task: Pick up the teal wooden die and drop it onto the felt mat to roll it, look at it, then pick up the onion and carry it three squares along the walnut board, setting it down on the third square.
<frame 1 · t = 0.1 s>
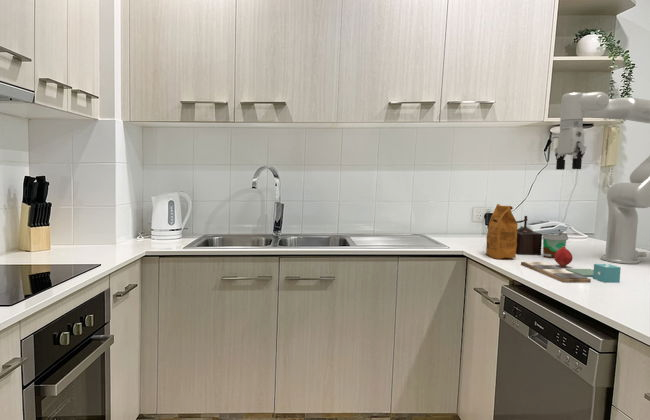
hand: (568, 169, 154), 37 cm above the worktop, tool pointing down, fingers open, 9 cm apart
board: (552, 272, 137), on the worktop
food container: (557, 258, 163), on the worktop
coffee package: (499, 257, 163), on the worktop
die: (606, 280, 127), on the worktop
mat: (586, 273, 136), on the worktop
manual coffee grinder: (517, 252, 174), on the worktop
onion: (562, 267, 146), on the worktop
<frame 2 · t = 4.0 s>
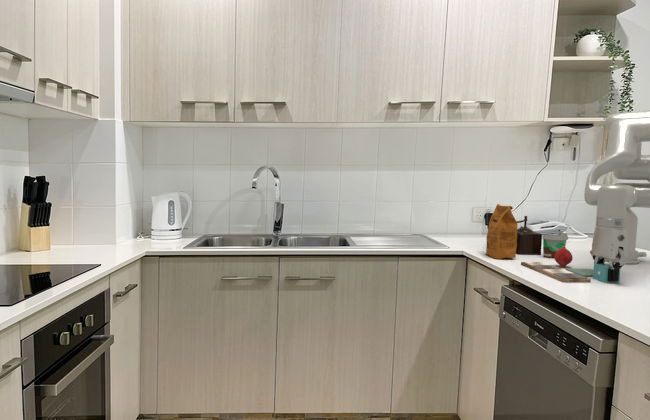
hand: (606, 278, 127), 1 cm above the worktop, tool pointing down, fingers closed on die, 5 cm apart
die: (605, 280, 127), on the worktop, touching gripper
everything else where it was.
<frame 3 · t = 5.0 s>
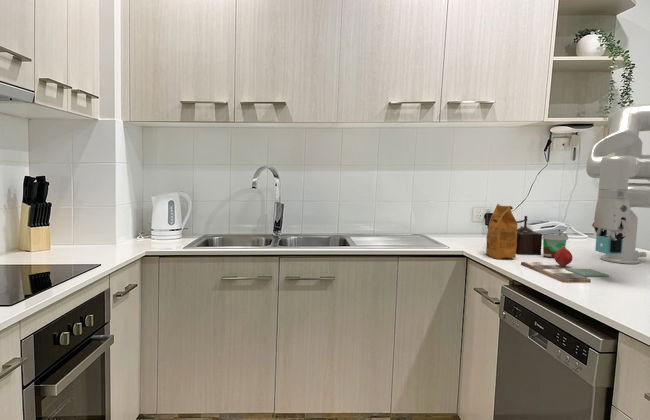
hand: (608, 249, 127), 10 cm above the worktop, tool pointing down, fingers closed on die, 5 cm apart
die: (608, 252, 127), point 9 cm above the worktop, touching gripper
everything else where it was.
when the fingers open (10 cm above the worktop, at t = 6.2 s): die drops 9 cm, resting on mat.
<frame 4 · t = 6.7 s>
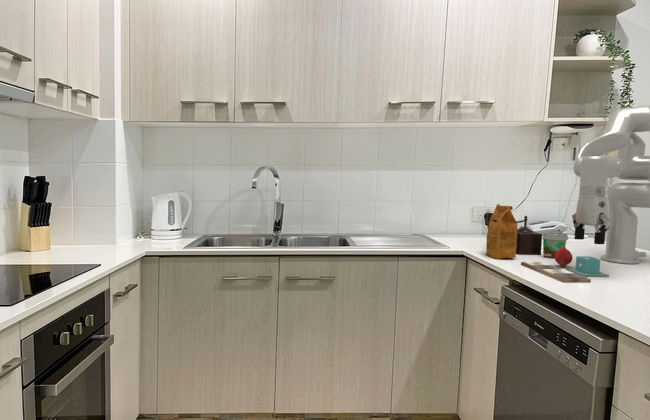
hand: (588, 241, 135), 11 cm above the worktop, tool pointing down, fingers open, 9 cm apart
die: (587, 271, 136), point 1 cm above the worktop, touching mat
everything else where it was.
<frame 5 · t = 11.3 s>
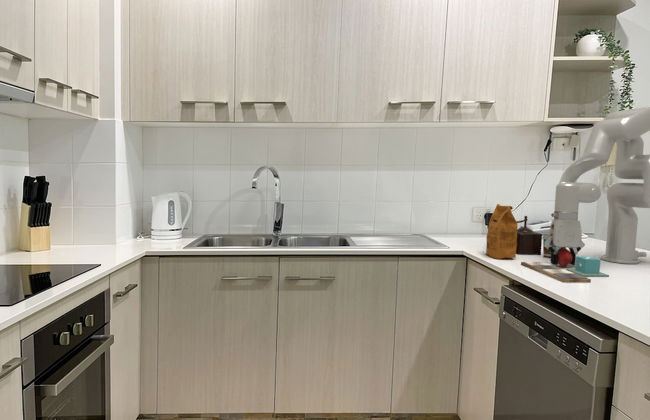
hand: (562, 263, 146), 1 cm above the worktop, tool pointing down, fingers closed on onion, 5 cm apart
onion: (562, 267, 146), on the worktop, touching gripper
everything else where it was.
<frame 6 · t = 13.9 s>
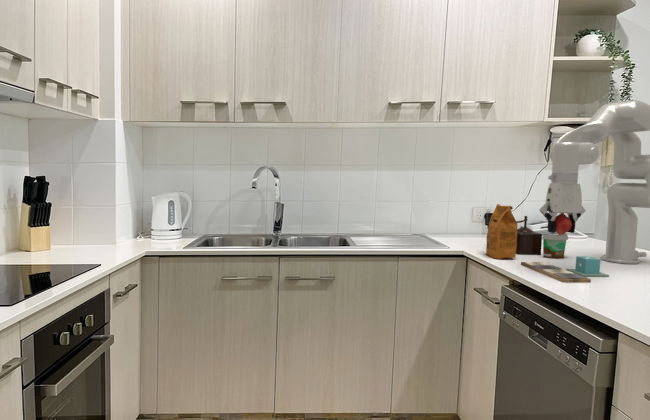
hand: (561, 231, 132), 15 cm above the worktop, tool pointing down, fingers closed on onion, 5 cm apart
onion: (560, 235, 133), point 14 cm above the worktop, touching gripper
everything else where it was.
when the fingers open (4 cm above the worktop, at t = 16.3 s): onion drops 1 cm, resting on board.
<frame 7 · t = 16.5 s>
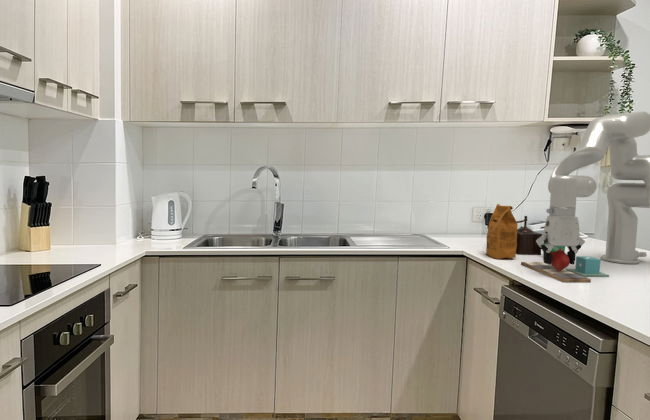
hand: (558, 263, 133), 4 cm above the worktop, tool pointing down, fingers open, 7 cm apart
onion: (558, 271, 134), point 1 cm above the worktop, touching board
everything else where it was.
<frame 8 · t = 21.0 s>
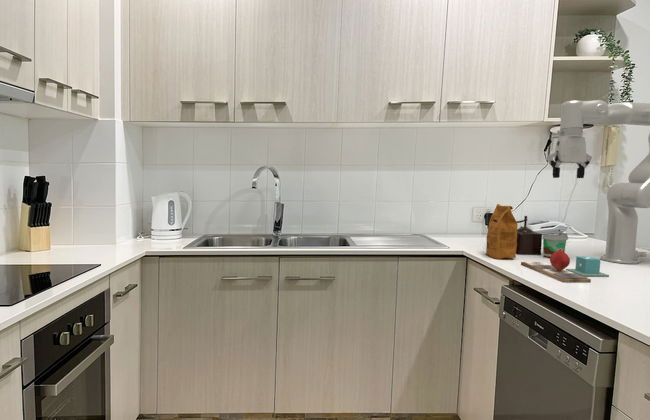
hand: (568, 177, 152), 33 cm above the worktop, tool pointing down, fingers open, 9 cm apart
nothing on the worktop moved.
at the end: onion inside the target area on the board (0.3 cm from its centre), point 1.1 cm above the board's base; the gripper is holding nothing; die inside the target area on the mat (0.2 cm from its centre), point 0.6 cm above the mat's base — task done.
